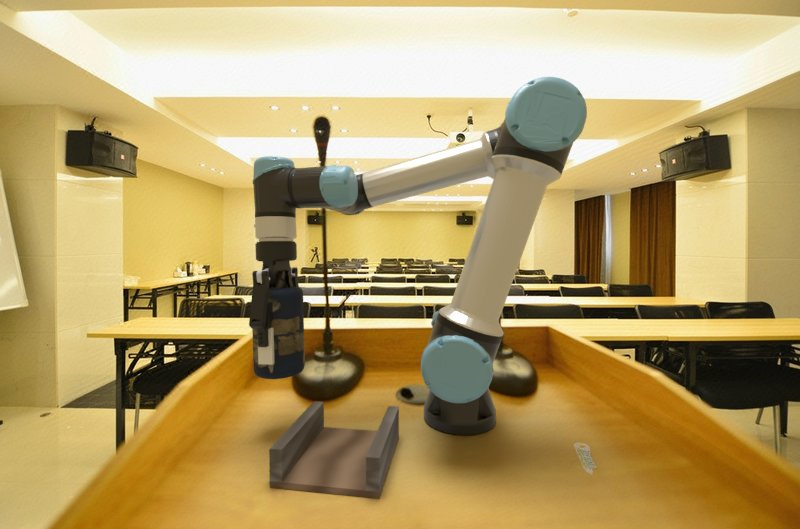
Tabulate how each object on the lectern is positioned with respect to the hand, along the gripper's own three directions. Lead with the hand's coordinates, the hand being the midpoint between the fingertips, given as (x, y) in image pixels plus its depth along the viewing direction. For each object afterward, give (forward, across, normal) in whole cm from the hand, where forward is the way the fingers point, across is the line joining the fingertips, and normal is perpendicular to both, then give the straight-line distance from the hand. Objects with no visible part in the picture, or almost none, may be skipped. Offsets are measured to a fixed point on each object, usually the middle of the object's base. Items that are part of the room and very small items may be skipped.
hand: (279, 355), depth 74 cm
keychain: (+17, 0, +56) cm, 59 cm away
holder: (+16, +7, +14) cm, 22 cm away
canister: (+4, 0, 0) cm, 4 cm away
